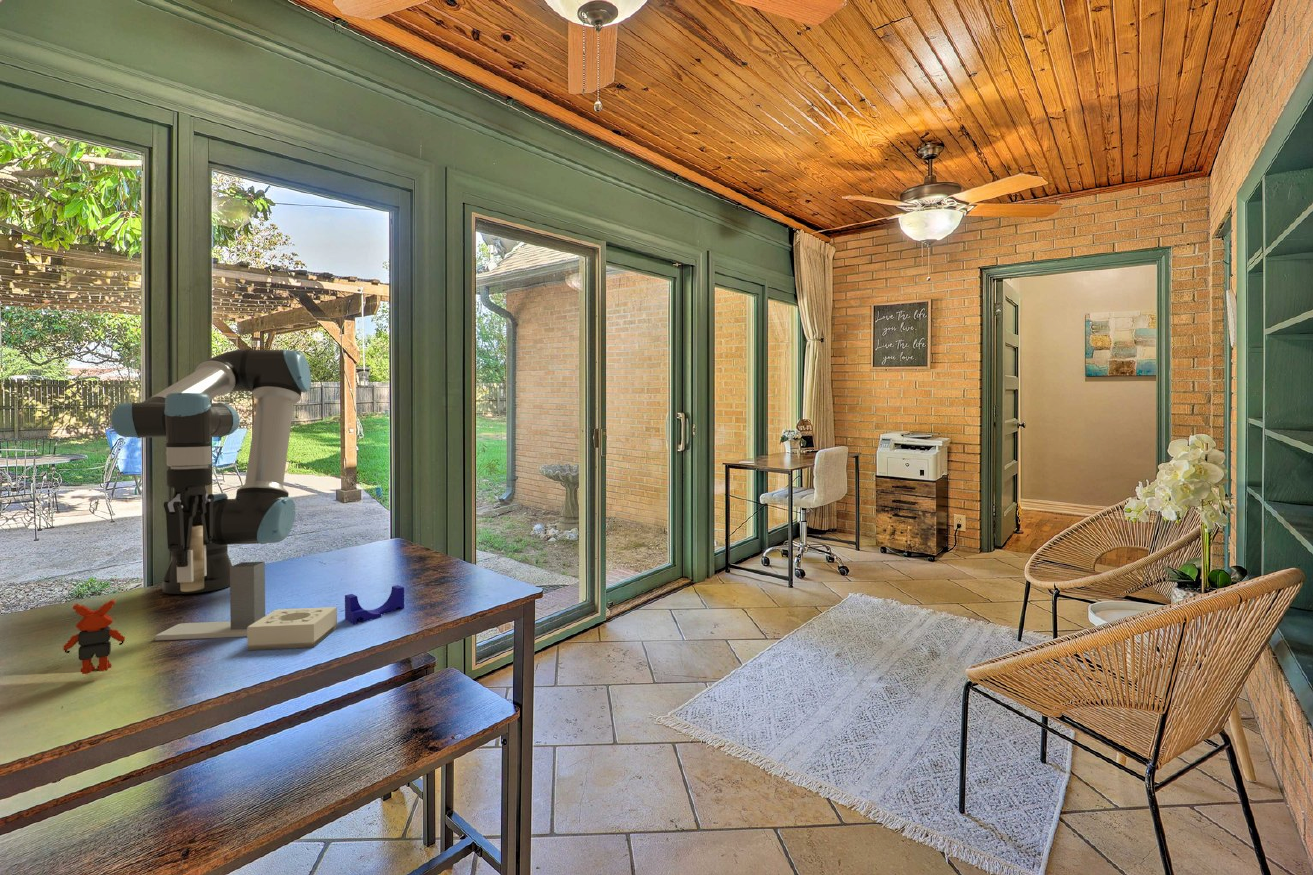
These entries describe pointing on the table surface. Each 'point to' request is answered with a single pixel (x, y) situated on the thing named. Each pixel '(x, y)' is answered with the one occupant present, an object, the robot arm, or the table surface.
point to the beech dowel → (196, 561)
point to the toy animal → (94, 637)
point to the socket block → (292, 628)
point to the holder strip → (200, 631)
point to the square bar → (247, 594)
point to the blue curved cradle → (390, 605)
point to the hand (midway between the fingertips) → (192, 578)
